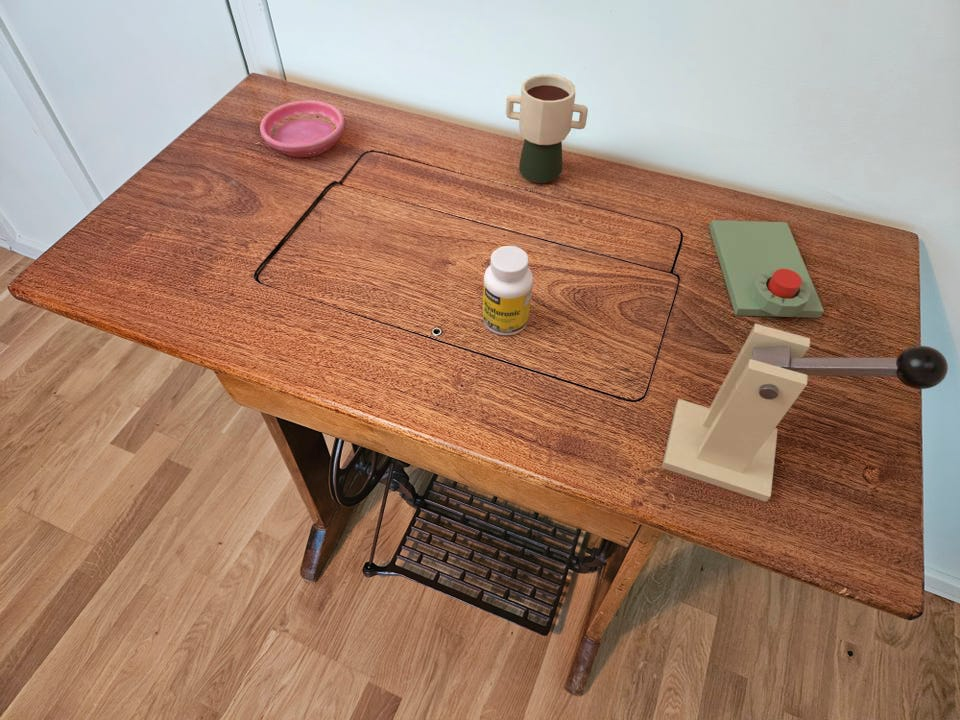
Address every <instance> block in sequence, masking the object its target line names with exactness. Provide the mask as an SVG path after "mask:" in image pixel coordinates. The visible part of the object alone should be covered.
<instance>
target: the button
mask: <svg viewBox="0 0 960 720" xmlns="http://www.w3.org/2000/svg"><path fill="white" fill-rule="evenodd" d="M801 284H802V279H801V277H800V276H799V275H798V274H797V273H796V272H794V271H792V270H789V269H779V270H777V271H775V272H774V274H773V276H772V277H771V279H770V281H769V283H768V289H769V291H770V292H771V293H772V294H773V295H775V296H778V297H780V298H785V299H789V298H792V297H794V296H795V295H796V293H797V291H798V290H799V288H800V286H801Z"/></svg>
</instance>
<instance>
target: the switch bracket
mask: <svg viewBox="0 0 960 720" xmlns="http://www.w3.org/2000/svg"><path fill="white" fill-rule="evenodd" d="M753 347H791V356H792V358H804V356H805V355H806V354H807V352H808V350H809V349H810V348H811V338H810V337H806V336H804V335H803V336H802V335H800V334H795V333H792V332H789V331H784V330H781V329H777V328H773V327H771V326H770V327H769V326H765V325H762V324H758V323H754V325H753V327H752V329H751V330H750V332H749V334H748V336H747V338H746V340H745V341H744V343H743V346H742V347H741V349H740V351H739V352H738V354H737V356H736V358H735V360H734V362H733V364H732V366H731V367H730V369H729V371H728V373H727V374H726V377H725V379H724V380H723V382H722V384H721V386H720V387H719V389H718V391H717V392H716V395H715V396H714V398H713V400H712V402H711V404H710V405H709V407H707V406H704V405H702V404H697V403H694V402H690V401H687V400H683V399H680V398H678V399H677V401H676V403H675V406H674V411H673V414H672V420H671V424H670V428H669V432H668V437H667V441H666V445H665V450H664V454H663V459H662V463H661V469H663V470H666V471H669V472H673V473H676V474H678V475H682V476H684V477H688V478H691V479H695V480H697V481H699V482H703V483H706V484H709V485H713V486H716V487H719V488H722V489H725V490H727V491H731V492H733V493H736V494H740V495H743V496H746V497H749V498H752V499H755V500H758V501H761V502H764V503H767V502H768V501H769V499H770V498H771V497H772V490H773V489H772V488H773V479H774V478H773V477H774V469H775V459H776V449H777V441H778V431H779V430H778V428H776V427H778V425H779V424H780V422H781V421H782V420H783V418H784V417H785V416H786V414H787V412H788V411H789V410H790V408H791V407H792V406H793V404H794V403H795V402H796V400H797V399H798V398H799V396H800V395H801V394H802V392H803V391H804V390H805V388H806V387H807V385H808V376H809V375H806V374H802V373H799V372H795V371H792V370H788V369H784V368H781V367H777V366H774V365H770V364H767V363H763V362H760V361H756V360H752V352H753Z"/></svg>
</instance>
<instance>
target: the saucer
mask: <svg viewBox="0 0 960 720" xmlns="http://www.w3.org/2000/svg"><path fill="white" fill-rule="evenodd" d="M300 114H303V115H304V114H319V115H323V116H325V117H327V118H329V119H330V120H331V121H332V122H333V123H334V124H335V126H336V129H335V130H334V131H333V129H332V127H331V126H330V125H329V124H328V123H327V122H324V121H321V120H317V119H299V120H294V121H291V122H288V123H286V124H284V125H283V126H281V127H280V128H279V129H278V130H277V131H276V133H275V136H274V139H275V140H274V139H272V138H271V131H272V129H273V127H274V126H275V125H276V124H277V123H279V122H280V121H282V120H283V119H286V118H288V117H292V116H296V115H300ZM345 127H346V120H345V116H344V114H343V112H342V110H340V109H339V108H338V107H337V106H335V105H333V104H332V103H329V102H326V101H322V100H316V99H301V100H295V101H290V102H287V103H284V104H281V105H279V106H276V107H275V108H273V109H271V110H270V111H268V113H266V114H265V115H264V117H263V118H262V120H261V122H260V124H259V132H260V134H261V137H262V139H263V141H264V142H265V143H266V144H267V145H268V146H270V147H271V148H273V149H274V150H276V151H278V152H280V151H281V152H280V153H282V154H284V155H285V156H287V157H288V156H289V157H294V158H308V157H315V156H318V155H322V154H323V153H326V152H327V151H329V150H331V149H332V148H333V147H334V146H335V145H336V143H337V141H338V140H339V139H340V138H341V136H342V135H343V132H344V130H345ZM325 148H326V149H325ZM283 152H284V153H283ZM314 152H315V153H314ZM309 153H310V154H309Z"/></svg>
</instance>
